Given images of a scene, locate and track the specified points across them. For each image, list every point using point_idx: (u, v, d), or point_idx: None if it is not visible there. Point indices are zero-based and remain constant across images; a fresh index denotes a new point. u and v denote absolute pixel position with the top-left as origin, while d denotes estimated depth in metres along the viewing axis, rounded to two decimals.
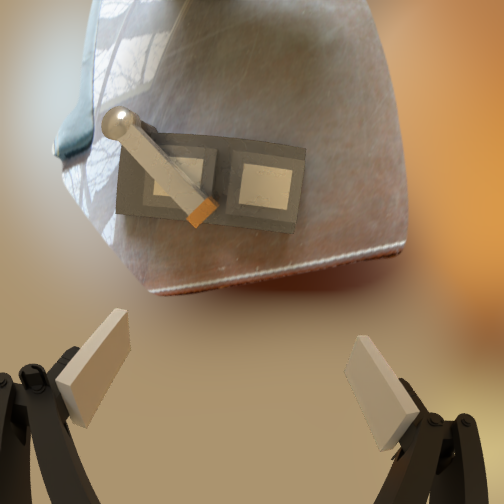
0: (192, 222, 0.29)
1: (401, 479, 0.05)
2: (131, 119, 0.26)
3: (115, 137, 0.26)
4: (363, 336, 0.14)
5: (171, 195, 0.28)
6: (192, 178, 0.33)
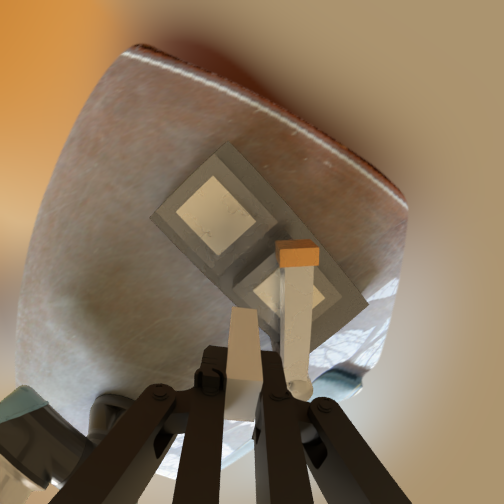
0: (316, 256, 0.22)
1: (266, 469, 0.06)
2: None
3: (306, 383, 0.26)
4: (250, 309, 0.16)
5: (310, 298, 0.23)
6: (278, 282, 0.28)
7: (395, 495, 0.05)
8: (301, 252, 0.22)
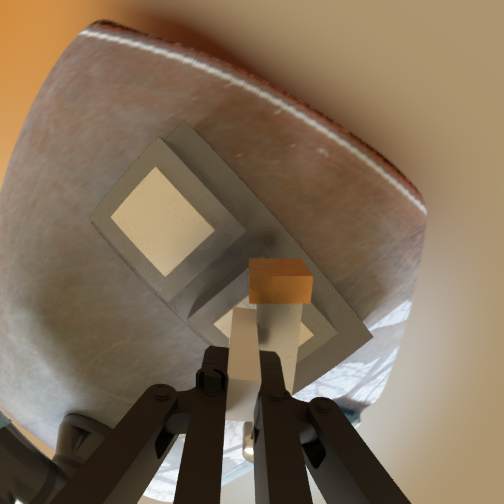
0: (307, 289, 0.14)
1: (265, 469, 0.06)
2: (248, 444, 0.17)
3: None
4: (249, 309, 0.16)
5: (295, 348, 0.15)
6: None
7: (394, 495, 0.05)
8: (284, 282, 0.14)
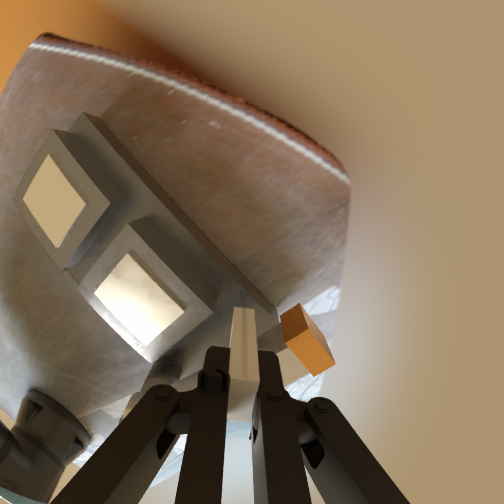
0: (323, 368, 0.15)
1: (264, 469, 0.06)
2: None
3: None
4: (248, 309, 0.16)
5: None
6: (118, 284, 0.19)
7: (393, 495, 0.05)
8: (319, 352, 0.14)
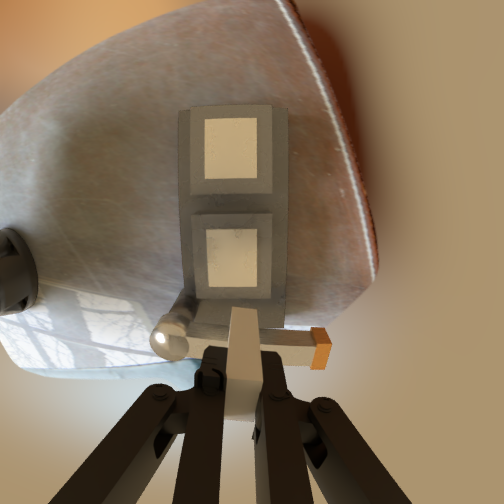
0: (318, 367, 0.25)
1: (266, 469, 0.06)
2: (182, 333, 0.24)
3: (182, 355, 0.25)
4: (250, 309, 0.16)
5: None
6: (231, 240, 0.27)
7: (395, 495, 0.05)
8: (324, 358, 0.25)
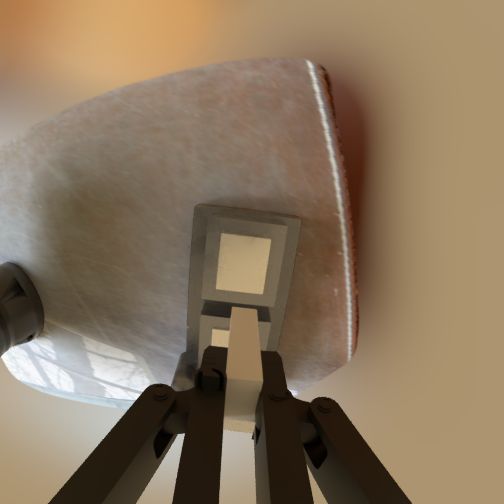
0: None
1: (266, 469, 0.06)
2: None
3: None
4: (250, 309, 0.16)
5: None
6: None
7: (395, 495, 0.05)
8: None
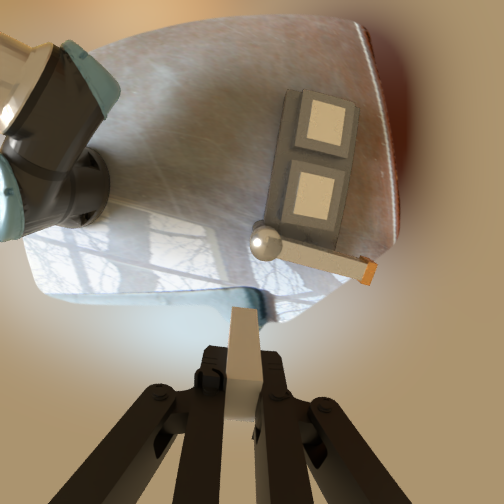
0: (366, 283, 0.36)
1: (266, 469, 0.06)
2: (280, 236, 0.34)
3: (273, 256, 0.35)
4: (250, 309, 0.16)
5: (343, 274, 0.35)
6: (317, 182, 0.37)
7: (395, 495, 0.05)
8: (371, 275, 0.35)
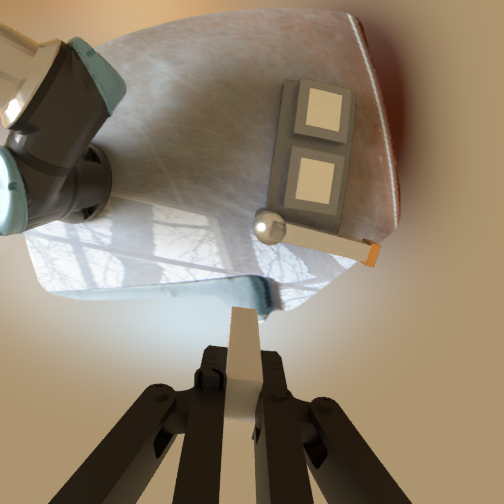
0: (370, 264, 0.36)
1: (266, 469, 0.06)
2: (283, 220, 0.34)
3: (277, 240, 0.35)
4: (250, 309, 0.16)
5: (348, 256, 0.35)
6: (317, 167, 0.37)
7: (395, 495, 0.05)
8: (375, 257, 0.35)
